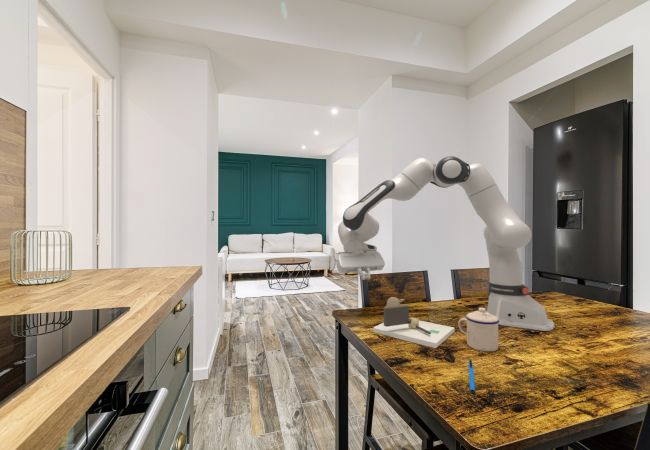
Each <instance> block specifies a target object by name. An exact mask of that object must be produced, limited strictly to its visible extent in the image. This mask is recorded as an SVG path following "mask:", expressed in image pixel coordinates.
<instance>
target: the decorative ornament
mask: <svg viewBox="0 0 650 450" xmlns="http://www.w3.org/2000/svg"><path fill="white" fill-rule="evenodd" d="M404 301H405V298H400V299H399V298H397V297H395V296H391V297H389V298H388V299H387V301H386V306H385V307H393V306H401V303H402V302H404Z"/></svg>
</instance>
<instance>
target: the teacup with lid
mask: <svg viewBox="0 0 650 450" xmlns="http://www.w3.org/2000/svg"><path fill="white" fill-rule="evenodd" d="M486 311H487V308H484V307H479V308H478V310H475V311H472V312H469V313H467V314H466V316H465V317H462V318H459V319H458V323H457V324H458V327H459V330H460V332H461V333H463V334H465V335H466V344H467V346H469V347H470V348H472V349H474V350H476V351H477V350H478V351H481V352H495V351H497V350H498V349H499V324H498V323H499V319H498V318H497V317H496V316H494V315H492V314H490V313H489V312H486ZM463 321H464V322H466V330H465V329H464V328H463V325H462V322H463Z"/></svg>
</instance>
